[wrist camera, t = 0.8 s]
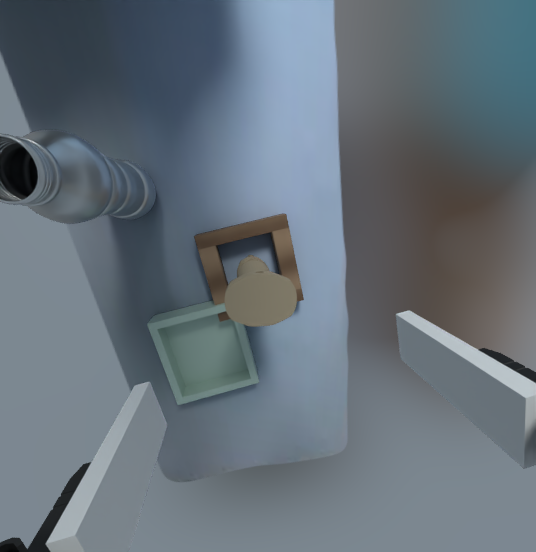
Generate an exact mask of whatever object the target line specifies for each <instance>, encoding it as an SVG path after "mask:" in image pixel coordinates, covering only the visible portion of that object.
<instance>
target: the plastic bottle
mask: <svg viewBox="0 0 536 552" xmlns="http://www.w3.org/2000/svg"><path fill="white" fill-rule="evenodd" d="M155 198H156V190H155V186H154V183H153V181H152V179H151V177H150V176H149V174H148V173H147V172H146V171H145V170H144V169H143V168H142V167H141V166H140V165H138V164H136V163H134V162H132V161H129V160H122V159H111V158H109V157H107V156H105V155H103V154H102V153H101V152H100V151H98V150H97V149H96V148H95V147H93V146H92V145H91V144H90V143H88V142H87V141H85V140H84V139H82V138H80V137H78V136H77V135H75V134H72V133H70V132H67V131H62V130H56V129H55V130H38V131H34V132H31V133H29V134H27V135H25V136H24V137H14V136H11V135H7V134H0V202H3V203H7V204H13V205H24V206H28V207H29V208H30V209H32V210H33V211H35V212H36V213H38V214H39V215H41V216H43V217H46V218H48V219H50V220H53V221H56V222H60V223H67V224H74V223H81V222H86V221H89V220H92V219H95V218H97V217H100V216H104V215H112V216H114V217H117V218H121V219H126V220H132V219H137V218H140V217H142V216H143V215H145V214H146V213H147V212H149V211H150V209H151V208H152V207H153V205H154V202H155Z"/></svg>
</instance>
